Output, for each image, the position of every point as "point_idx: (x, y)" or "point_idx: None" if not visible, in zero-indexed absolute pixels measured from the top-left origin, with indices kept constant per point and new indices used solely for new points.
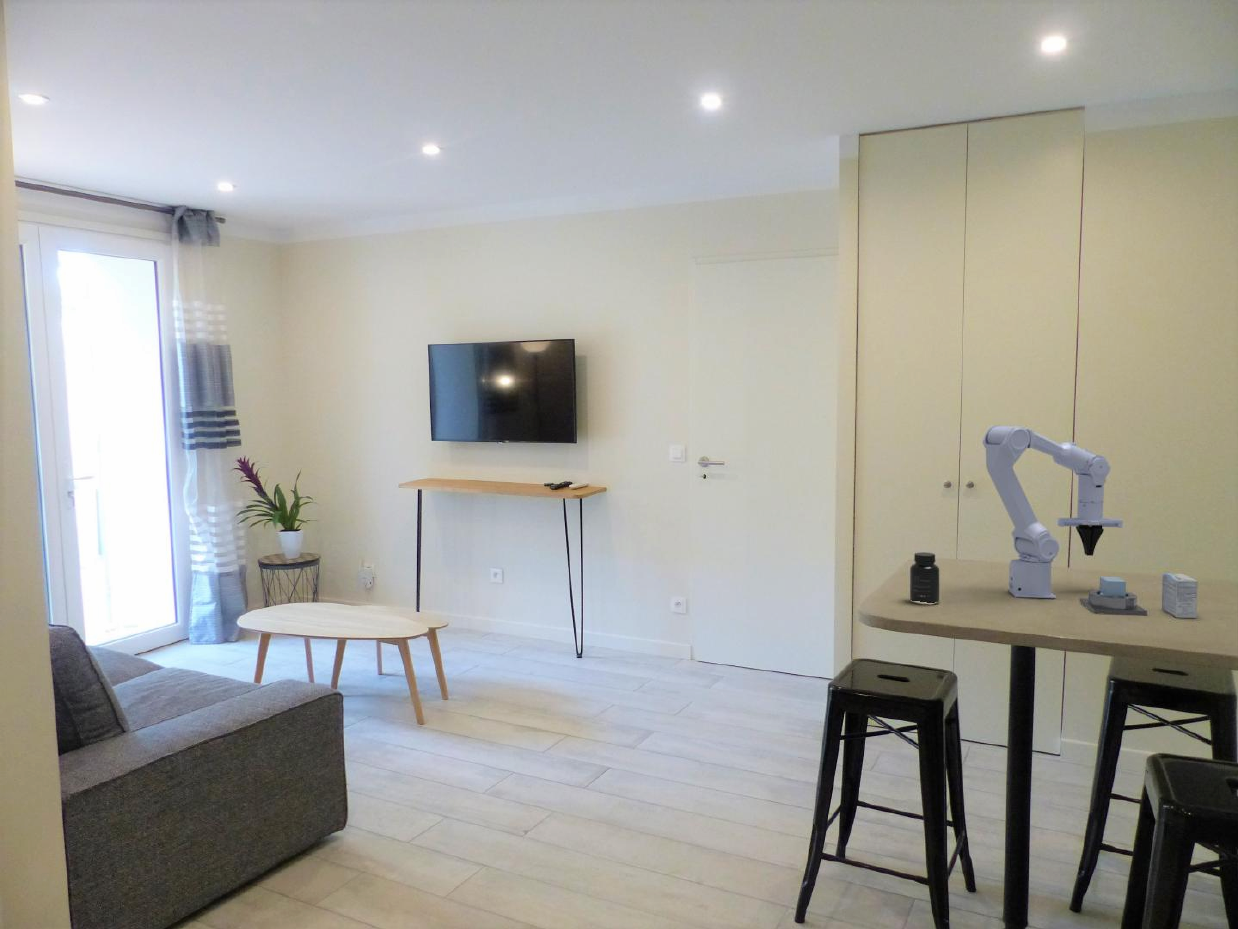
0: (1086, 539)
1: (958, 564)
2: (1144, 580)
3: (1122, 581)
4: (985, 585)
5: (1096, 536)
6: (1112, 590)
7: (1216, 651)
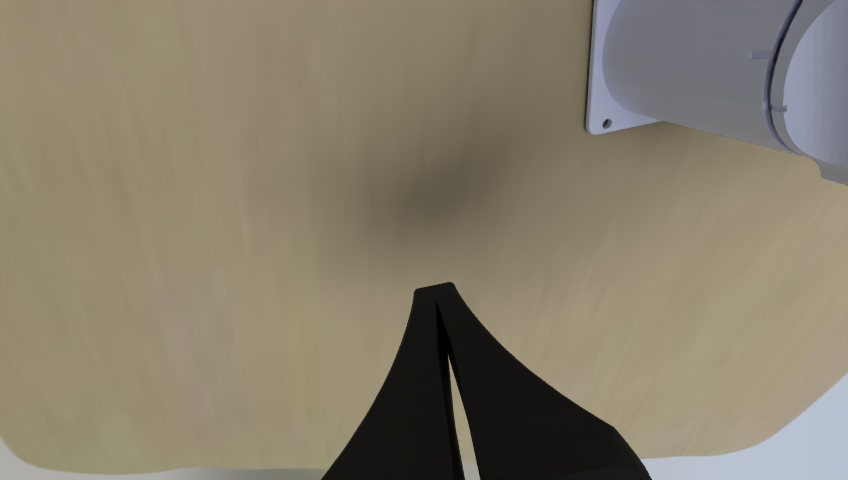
0: (502, 367)
1: (708, 416)
2: (240, 413)
3: None
4: (786, 176)
5: (402, 418)
6: None
7: None
